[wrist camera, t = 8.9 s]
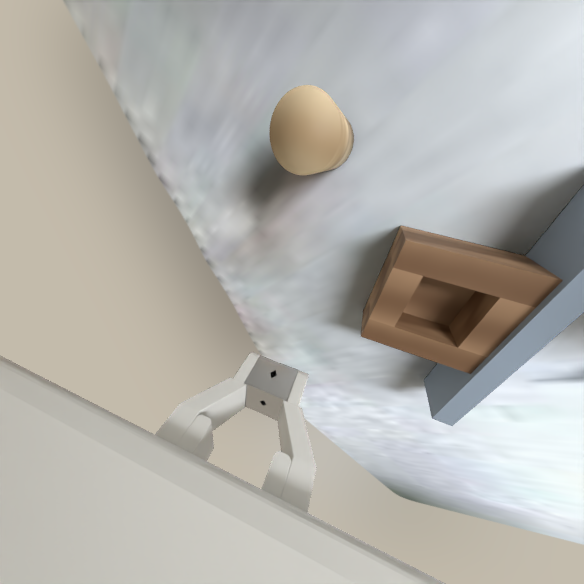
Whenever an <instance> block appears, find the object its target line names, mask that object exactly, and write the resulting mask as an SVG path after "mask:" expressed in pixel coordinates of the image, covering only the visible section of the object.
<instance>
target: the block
mask: <svg viewBox="0 0 584 584" xmlns="http://www.w3.org/2000/svg"><path fill="white" fill-rule="evenodd" d="M562 281H563V280H562V279H560V278H559V277H557V276H556V275H554V274H553V273H551V272H550V271H548V270H547V269H545V268H543V267H542V266H540V265H539V264H537V263H536V262H534V261H533V260H531V259H529V258H528V257H526V256H524V255H520V254H516V253H512V252H507V251H503V250H499V249H495V248H491V247H487V246H483V245H479V244H475V243H471V242H467V241H462V240H458V239H454V238H450V237H446V236H442V235H438V234H434V233H430V232H426V231H422V230H417V229H413V228H409V227H405V226H400V228H399V230H398V233H397V235H396V237H395V240H394V242H393V244H392V246H391V249H390V251H389V253H388V256H387V258H386V260H385V262H384V265H383V267H382V269H381V271H380V274H379V276H378V278H377V281H376V283H375V285H374V287H373V290H372V292H371V294H370V297H369V299H368V301H367V303H366V306H365V308H364V310H363V318H362V329H361V337H364V338H367V339H370V340H373V341H376V342H379V343H382V344H384V345H387V346H390V347H393V348H396V349H399V350H402V351H405V352H408V353H411V354H414V355H416V356H419V357H422V358H425V359H428V360H431V361H434V362H437V363H440V364H443V365H446V366H448V367H451V368H454V369H457V370H460V371H463V372H466V373H469V374H471V373H472V372H473V371H474V370H475V369H476V368H477V367H478V366H479V365H480V364H481V363H482V362H483V361H484V360H485V359H486V358H487V357H488V356H489V355H490V354H491V353H492V352H493V351H494V350H495V349H496V348H497V347H498V346H499V345H500V344H501V343H502V342H503V341H504V340H505V339H506V338H507V337H508V336H509V335H510V334H511V332H512V331H513V330H514V329H515V328H516V327H517V326H518V325H519V324H520V323H521V322H522V321H523V320H524V319H525V318H526V317H527V316H528V315H529V314H530V313H531V312H532V311H533V310H534V309H535V308H536V307H537V306H538V305H539V304H540V303H541V302H542V301H543V300H544V299H545V298H546V297H547V296H548V295H549V294H550V293H551V292H552V291H553V290H554V289H555V288H556V287H557V286H558V285H559V284H560V283H561V282H562Z"/></svg>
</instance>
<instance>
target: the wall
mask: <svg viewBox="0 0 584 584" xmlns="http://www.w3.org/2000/svg"><path fill="white" fill-rule="evenodd" d="M526 257H528V258H529V259H531V260H533V261H534V262H536V263H537V264H539V265H540V266H542V267H543V268H545V269H547V270H548V271H550V272H551V273H553V274H554V275H556V276H557V277H559V278H560V279H562V280H563V281H562V282H561V283H560V284H559V285H558V286H557V287H556V288H555V289H554V290H553V291H552V292H551V293H550V294H549V295H548V296H547V297H546V298H545V299H544V300H543V301H542V302H541V303H540V304H539V305H538V306H537V307H536V308H535V309H534V310H533V311H532V312H531V313H530V314H529V315H528V316H527V317H526V318H525V319H524V320H523V321H522V322H521V323H520V324H519V325H518V326H517V327H516V328H515V329H514V330H513V331H512V332H511V334H510V335H509V336H508V337H507V338H506V339H505V340H504V341H503V342H502V343H501V344H500V345H499V346H498V347H497V348H496V349H495V350H494V351H493V352H492V353H491V354H490V355H489V356H488V357H487V358H486V359H485V360H484V361H483V362H482V363H481V364H480V365H479V366H478V367H477V368H476V369H475V370H474V371H473V372H472V373H471V374H469V373H466V372H463V371H460V370H457V369H454V368H451V367H448V366H446V365H443V364H440V363H437V365H436V366H435V367H434V368H433V370H432V371H431V372H430V373H429V374H428V376H427V377H426V378H425V379H424V383H425V387H426V392H427V397H428V402H429V406H430V411H431V416H432V418H433V419H435V420H438V421H440V422H443V423H445V424H448V425H451V426H453V425H454V424H455V423H456V422H458V421H459V420H460V419H461V418H462V417H463V416H464V415H466V414H467V413H468V412H469V411H470V410H471V409H473V408H474V407H475V406H476V405H477V404H478V403H480V402H481V401H482V400H483V399H484V398H485V397H486V396H488V395H489V394H490V393H491V392H492V391H493V390H495V389H496V388H497V387H498V386H499V385H500V384H502V383H503V382H504V381H505V380H506V379H507V378H508V377H510V376H511V375H512V374H513V373H514V372H515V371H517V370H518V369H519V368H520V367H521V366H522V365H524V364H525V363H526V362H527V361H528V360H529V359H530V358H532V357H533V356H534V355H535V354H536V353H537V352H539V351H540V350H541V349H542V348H543V347H544V346H546V345H547V344H548V343H549V342H550V341H551V340H552V339H554V338H555V337H556V336H557V335H558V334H559V333H561V332H562V331H563V330H564V329H565V328H566V327H568V326H569V325H570V324H571V323H572V322H573V321H574V320H576V319H577V318H578V317H579V316H580V315H581V314H583V313H584V185H583V186H582V187H581V189H580V190H579V191H578V192H577V194H576V195H575V196H574V197H573V198H572V200H571V201H570V202H569V203H568V205H567V206H566V207H565V208H564V209H563V211H562V212H561V213H560V214H559V216H558V217H557V218H556V219H555V220H554V222H553V223H552V224H551V225H550V227H549V228H548V229H547V230H546V231H545V233H544V234H543V235H542V236H541V238H540V239H539V240H538V241H537V242H536V244H535V245H534V246H533V247H532V249H531V250H530V251H529V252H528V253H527V255H526Z"/></svg>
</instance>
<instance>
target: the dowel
mask: <svg viewBox="0 0 584 584" xmlns="http://www.w3.org/2000/svg"><path fill="white" fill-rule="evenodd" d="M270 142H271V147H272V150H273V153H274V155H275V157H276V159H277V160H278V162H279V163H280V164H281V166H282V167H284V168H285V169H286V170H287V171H289V172H291V173H293V174H296V175H310V174H314V173H319V172H324V171H328V170H333V169H336V168H338V167H339V166H341V165H342V164H343V163H344V162H345V161H346V160H347V158H348V157H349V155H350V153H351V151H352V148H353V142H354V135H353V130H352V127H351V125H350V123H349V121H348V120H347V119H346V117H345V116H344V115H343V113H342V112H341V111H340V109H339V108H338V107H337V105H336V104H335V103H334V101H333V100H332V99H331V97H330V96H329V95H328V94H327V93H326V92H325V91H323V90H322V89H320V88H318V87H316V86H311V85H303V86H299V87H296V88H294V89H292V90H290V91H289V92H287V93H286V94H285V95H284V96H283V97H282V98H281V100H280V101H279V102H278V104H277V106H276V108H275V110H274V112H273V115H272V118H271V123H270Z"/></svg>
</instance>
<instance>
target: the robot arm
mask: <svg viewBox="0 0 584 584" xmlns="http://www.w3.org/2000/svg"><path fill="white" fill-rule="evenodd" d="M308 376H309V374H307V373H304V372H302V371H299V370H297V369H295V368H292V367H289V366H287V365H284V364H281V363H278V362H275V361H273V360H271V359H268V358H266V357H263V356H261V355H259V354H256V353H254V352H251V353H249V355H248V356H247V358H246V359H245V361H244V362H243V364H242V365H241V367H240V368H239V370H238V371H237V373H236V374H235V376H234V377H233V378H228V379H226V380H224V381H222V382H221V383H218V384H217V385H214V386H212V387H211V388H209V389H207V390H205V391H203V392H201V393H199V394H197V395H195V396H193V397H191V398H189V399H187V400H185V401H183V402H182V403H180V404H179V405H178V407H177V408H176V409H175V410H174V412H173V413H172V414H171V415H170V417H169V418H168V419H167V420H166V422H165V423H164V424H163V425H162V426H161V428H160V429H159V430H158V431H157V433H156V434H155V435H154V434H152V433H150V432H148V431H146V430H145V429H143V428H141V427H139V426H137V425H135V424H133V423H131V422H129V421H127V420H125V419H123V418H121V417H119V416H117V415H115V414H113V413H111V412H109V411H107V410H105V409H104V408H102V407H100V406H98V405H96V404H94V403H92V402H90V401H88V400H86V399H84V398H82V397H80V396H78V395H76V394H74V393H72V392H70V391H68V390H66V389H65V388H63V387H60V386H59V385H57V384H55V383H53V382H51V381H49V380H47V379H45V378H43V377H41V376H39V375H37V374H35V373H33V372H31V371H29V370H27V369H25V368H23V367H21V366H20V365H18V364H16V363H14V362H12V361H10V360H8V359H6V358H4V357H2V356H0V584H445V583H443V582H441V581H439V580H437V579H435V578H434V577H432V576H430V575H428V574H425V573H424V572H422V571H420V570H418V569H416V568H414V567H412V566H410V565H408V564H406V563H404V562H402V561H400V560H398V559H396V558H394V557H392V556H390V555H389V554H387V553H385V552H383V551H380V550H379V549H377V548H375V547H373V546H371V545H369V544H367V543H365V542H363V541H361V540H359V539H357V538H355V537H353V536H351V535H349V534H348V533H346V532H344V531H342V530H340V529H338V528H336V527H334V526H332V525H330V524H328V523H326V522H324V521H322V520H320V519H318V518H316V517H314V516H312V515H310V514H309V513H307V512H308V507H309V502H310V497H311V492H312V487H313V482H314V477H315V472H316V464H315V460H314V456H313V452H312V448H311V444H310V440H309V435H308V431H307V427H306V423H305V419H304V415H303V411H302V408H301V407H299V404H300V401H301V398H302V395H303V392H304V389H305V386H306V382H307V379H308ZM245 407H247V408H250V409H253V410H255V411H257V412H260V413H262V414H264V415H266V416H268V417H270V418H272V419H275V420H277V421H278V429H279V437H280V445H281V452H280V451H278V452H276V453H275V454H274V457H273V459H272V462H271V465H270V467H269V470H268V473H267V475H266V478H265V481H264V484H263V487H262V489H260V488H258V487H256V486H254V485H252V484H250V483H248V482H246V481H244V480H242V479H240V478H238V477H236V476H234V475H232V474H230V473H228V472H227V471H225V470H223V469H221V468H219V467H217V466H214V465H213V464H211V463H209V462H207V460H208V458H209V456H210V454H211V452H212V451H213V449H214V445H213V434H212V431H213V430H215V429H216V428H217V427H219V426H220V425H222V424H223V423H224V422H226V421H227V420H228V419H230V418H231V417H232V416H234V415H235V414H237V413H238V412H239V411H241V410H242V409H243V408H245Z"/></svg>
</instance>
